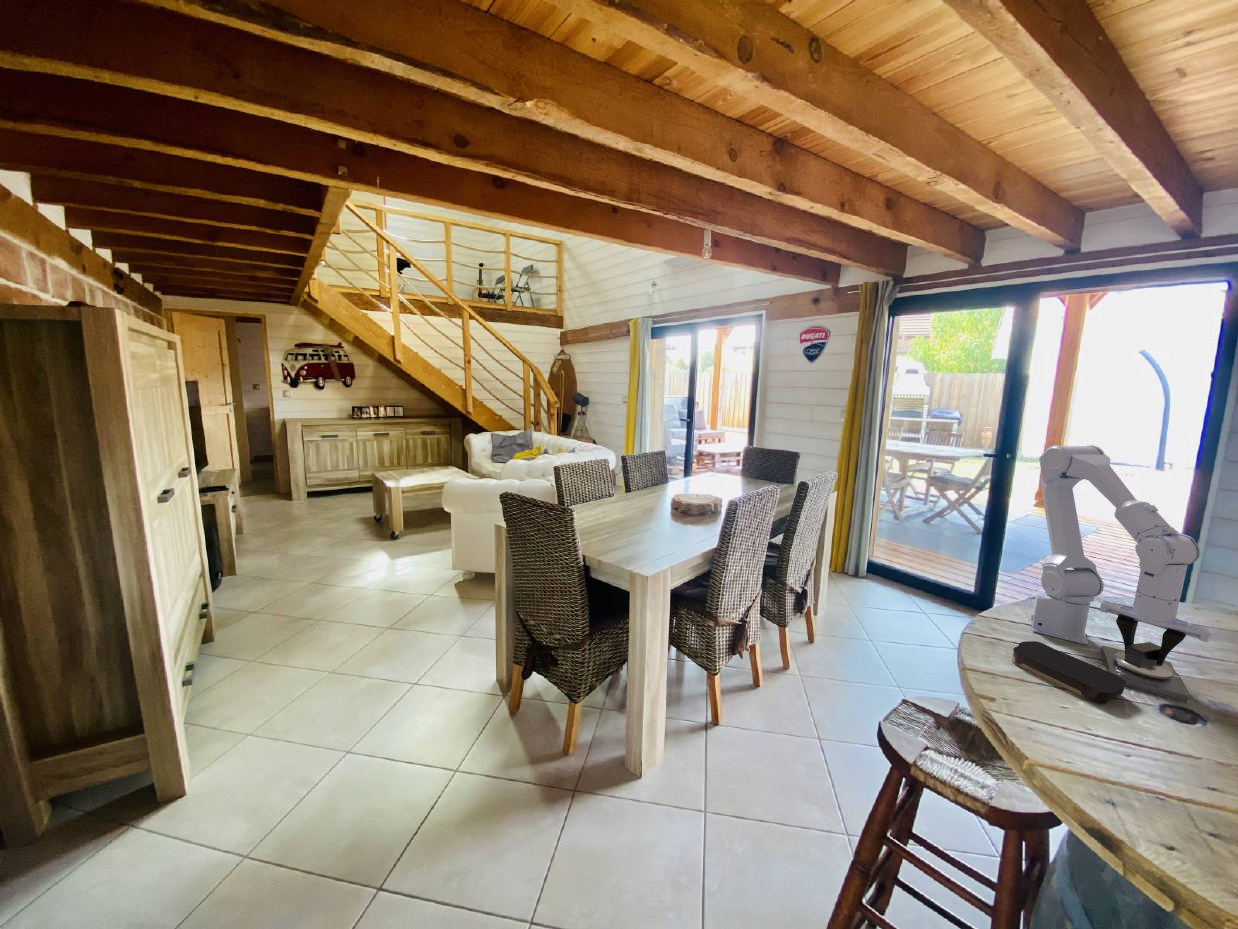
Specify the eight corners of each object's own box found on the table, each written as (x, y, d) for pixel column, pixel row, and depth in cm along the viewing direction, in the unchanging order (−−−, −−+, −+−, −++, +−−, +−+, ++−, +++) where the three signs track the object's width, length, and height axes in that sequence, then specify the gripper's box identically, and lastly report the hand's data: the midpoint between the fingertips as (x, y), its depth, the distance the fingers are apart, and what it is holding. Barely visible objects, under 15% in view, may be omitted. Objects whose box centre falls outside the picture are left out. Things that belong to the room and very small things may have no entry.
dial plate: (1110, 681, 94) (1111, 673, 94) (1100, 651, 105) (1102, 644, 105) (1187, 703, 88) (1189, 695, 88) (1168, 668, 99) (1170, 661, 98)
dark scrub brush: (1129, 699, 90) (1132, 681, 89) (1102, 710, 87) (1106, 691, 86) (1029, 653, 105) (1032, 638, 104) (1004, 661, 102) (1006, 645, 101)
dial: (1152, 681, 92) (1157, 660, 91) (1103, 658, 99) (1107, 638, 99) (1183, 676, 93) (1188, 655, 92) (1132, 653, 101) (1136, 634, 100)
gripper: (1219, 603, 90) (1203, 670, 92) (1111, 577, 102) (1100, 636, 104) (1213, 613, 86) (1197, 682, 88) (1101, 584, 98) (1090, 646, 100)
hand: (1144, 658), depth 96 cm, fingers closed on dial, 4 cm apart
